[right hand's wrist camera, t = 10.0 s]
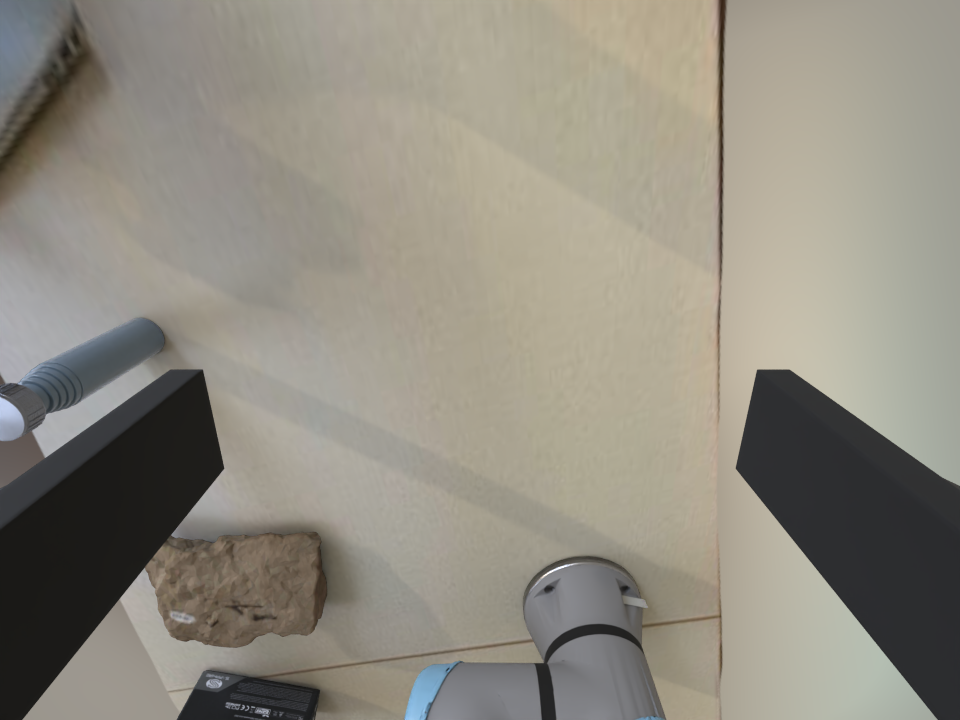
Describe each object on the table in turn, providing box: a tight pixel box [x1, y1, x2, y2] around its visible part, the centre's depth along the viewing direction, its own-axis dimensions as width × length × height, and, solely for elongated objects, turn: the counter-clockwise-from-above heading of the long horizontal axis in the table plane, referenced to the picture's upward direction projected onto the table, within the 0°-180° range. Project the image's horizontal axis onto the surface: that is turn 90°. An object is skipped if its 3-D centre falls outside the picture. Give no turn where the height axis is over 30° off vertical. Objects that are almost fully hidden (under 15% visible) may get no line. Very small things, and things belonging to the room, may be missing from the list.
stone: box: [145, 532, 327, 648], centre depth 64 cm, size 21×15×6 cm
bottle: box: [17, 318, 164, 414], centre depth 47 cm, size 4×4×18 cm
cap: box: [0, 383, 46, 441], centre depth 39 cm, size 4×4×2 cm
